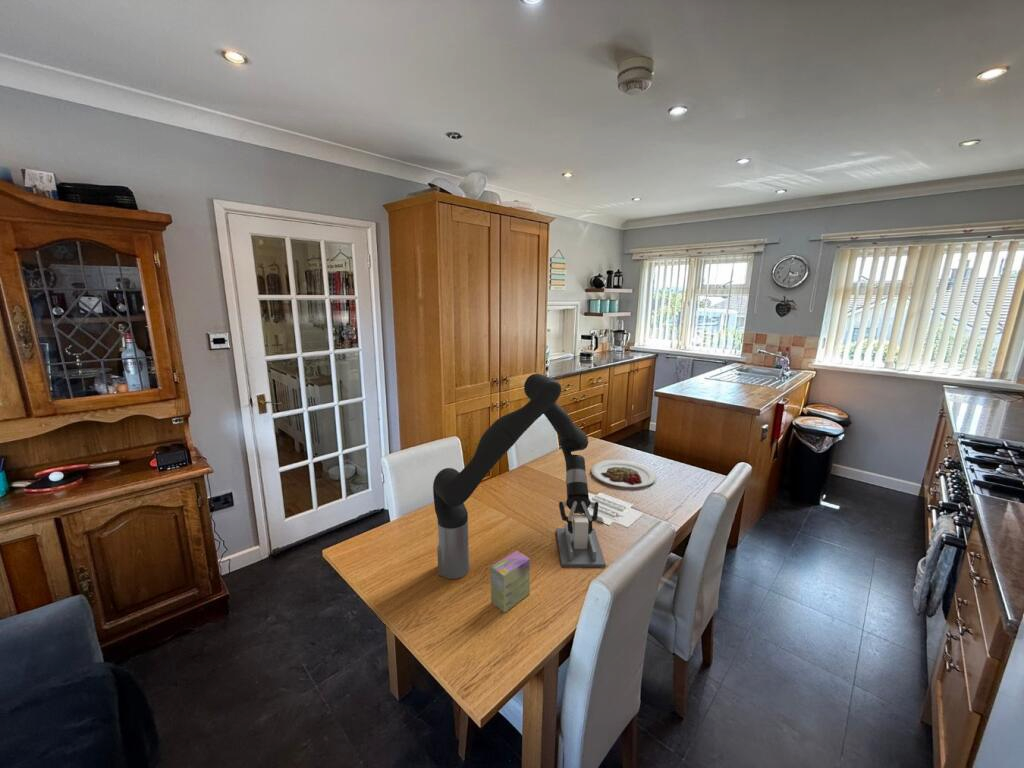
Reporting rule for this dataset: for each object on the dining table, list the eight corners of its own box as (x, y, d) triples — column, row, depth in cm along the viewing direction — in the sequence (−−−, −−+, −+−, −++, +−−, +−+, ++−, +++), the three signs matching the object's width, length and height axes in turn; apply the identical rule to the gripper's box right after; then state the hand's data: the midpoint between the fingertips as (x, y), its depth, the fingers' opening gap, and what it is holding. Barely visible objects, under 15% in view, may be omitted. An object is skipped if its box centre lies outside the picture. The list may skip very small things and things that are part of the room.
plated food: (605, 458, 214) (606, 452, 213) (663, 472, 197) (664, 466, 196) (580, 479, 190) (580, 472, 189) (643, 497, 173) (644, 490, 172)
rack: (561, 566, 129) (561, 555, 128) (556, 530, 148) (556, 520, 147) (605, 567, 128) (606, 556, 127) (594, 531, 148) (594, 521, 147)
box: (516, 584, 121) (516, 549, 118) (530, 594, 117) (530, 558, 114) (490, 602, 114) (489, 566, 111) (504, 613, 110) (503, 576, 107)
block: (573, 548, 136) (575, 522, 134) (571, 540, 140) (573, 514, 138) (587, 549, 136) (588, 522, 134) (584, 541, 140) (586, 515, 138)
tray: (587, 489, 181) (588, 482, 180) (647, 514, 163) (648, 505, 162) (561, 507, 166) (561, 499, 165) (623, 536, 148) (624, 527, 147)
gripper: (557, 480, 141) (560, 530, 132) (598, 480, 141) (604, 531, 132) (556, 487, 147) (558, 535, 138) (595, 487, 147) (600, 536, 138)
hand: (580, 533), depth 135 cm, fingers open, 5 cm apart
